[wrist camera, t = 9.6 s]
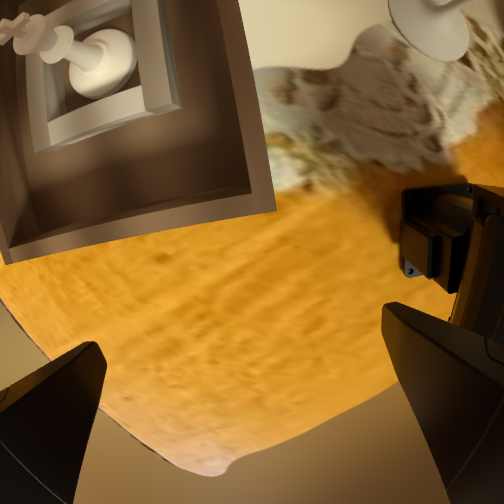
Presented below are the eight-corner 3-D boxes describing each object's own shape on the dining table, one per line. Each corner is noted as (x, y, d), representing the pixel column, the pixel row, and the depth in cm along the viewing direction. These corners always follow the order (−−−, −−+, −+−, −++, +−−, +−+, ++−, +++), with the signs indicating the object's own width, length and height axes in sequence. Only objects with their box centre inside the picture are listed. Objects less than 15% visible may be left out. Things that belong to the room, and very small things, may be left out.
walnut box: (217, -76, 12) (210, -114, 7) (271, 194, 19) (276, 210, 14) (17, 6, 13) (-17, -7, 8) (43, 241, 20) (5, 265, 16)
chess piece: (66, 55, 15) (-36, 25, 5) (126, 18, 14) (42, -47, 5) (83, 112, 16) (-30, 107, 7) (147, 76, 16) (54, 28, 6)
